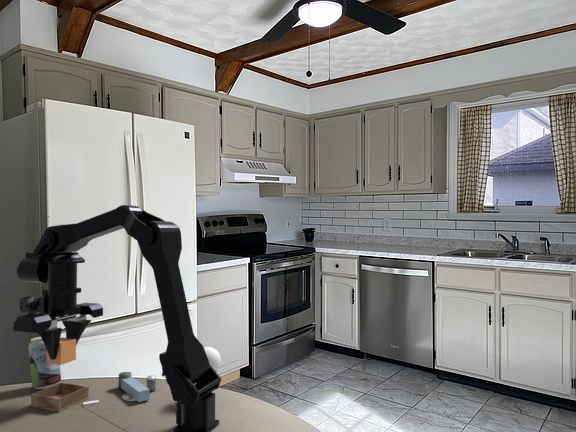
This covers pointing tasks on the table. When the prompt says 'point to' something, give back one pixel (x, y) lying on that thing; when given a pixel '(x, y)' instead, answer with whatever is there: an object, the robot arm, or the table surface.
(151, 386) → the post
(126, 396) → the plate
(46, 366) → the printed food package
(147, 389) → the crank
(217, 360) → the lightbulb
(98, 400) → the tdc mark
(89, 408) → the table surface
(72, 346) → the block
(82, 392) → the tray
